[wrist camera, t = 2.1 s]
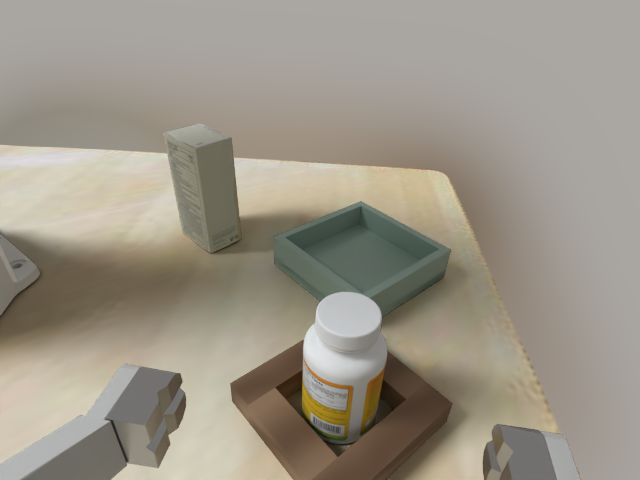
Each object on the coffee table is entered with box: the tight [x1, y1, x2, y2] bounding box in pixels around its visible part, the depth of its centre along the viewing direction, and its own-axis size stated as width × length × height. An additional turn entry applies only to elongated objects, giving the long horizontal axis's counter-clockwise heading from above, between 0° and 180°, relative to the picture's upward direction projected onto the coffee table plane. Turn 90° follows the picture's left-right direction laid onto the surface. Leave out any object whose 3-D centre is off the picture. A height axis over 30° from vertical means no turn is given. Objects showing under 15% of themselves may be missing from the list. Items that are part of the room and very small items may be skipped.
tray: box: [274, 201, 451, 317], centre depth 44 cm, size 13×13×4 cm
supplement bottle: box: [302, 292, 387, 444], centre depth 28 cm, size 5×5×10 cm
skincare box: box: [164, 124, 242, 253], centre depth 46 cm, size 6×4×12 cm
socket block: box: [230, 340, 453, 480], centre depth 30 cm, size 11×11×2 cm
